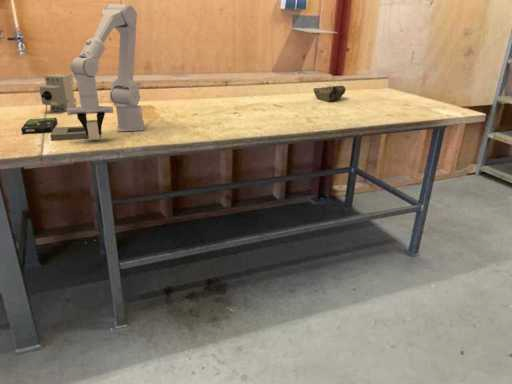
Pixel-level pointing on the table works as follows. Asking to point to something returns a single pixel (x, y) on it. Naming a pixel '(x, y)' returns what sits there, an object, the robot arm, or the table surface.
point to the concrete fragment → (329, 93)
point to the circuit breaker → (58, 92)
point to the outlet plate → (68, 133)
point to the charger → (93, 129)
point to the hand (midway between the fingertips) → (94, 134)
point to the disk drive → (39, 126)
